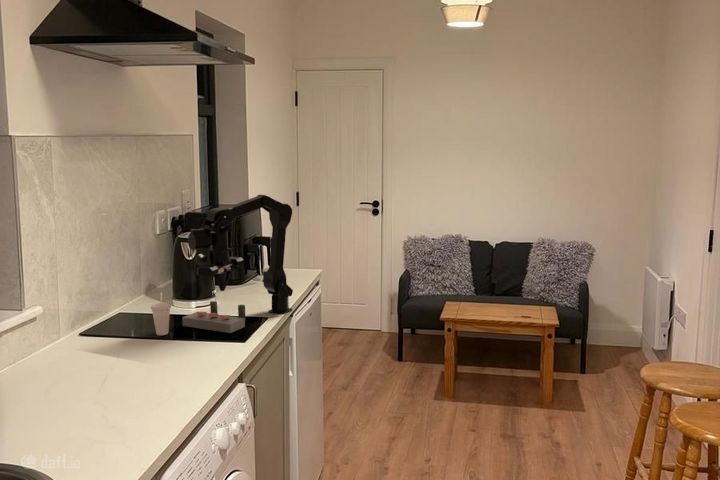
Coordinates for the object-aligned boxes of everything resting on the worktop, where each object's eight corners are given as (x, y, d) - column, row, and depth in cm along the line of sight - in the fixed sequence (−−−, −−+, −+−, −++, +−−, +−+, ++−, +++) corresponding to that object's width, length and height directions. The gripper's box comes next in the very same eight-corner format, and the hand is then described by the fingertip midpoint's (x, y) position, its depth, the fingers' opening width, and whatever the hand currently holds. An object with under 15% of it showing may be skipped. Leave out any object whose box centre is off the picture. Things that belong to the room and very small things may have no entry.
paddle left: (201, 314, 245) (202, 311, 245) (206, 314, 244) (206, 312, 244) (196, 314, 243) (196, 311, 243) (201, 315, 242) (201, 312, 242)
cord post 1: (213, 317, 253) (213, 300, 252) (219, 318, 252) (218, 301, 251) (209, 318, 251) (208, 302, 250) (214, 319, 250) (214, 303, 249)
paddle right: (225, 317, 241) (225, 314, 241) (230, 318, 240) (230, 315, 240) (220, 318, 238) (220, 315, 238) (225, 318, 237) (225, 315, 237)
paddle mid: (213, 315, 243) (213, 313, 243) (218, 316, 242) (218, 313, 242) (208, 316, 240) (208, 313, 240) (213, 317, 240) (213, 314, 240)
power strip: (198, 319, 250) (197, 311, 249) (244, 326, 241) (244, 318, 240) (182, 325, 243) (182, 317, 242) (230, 333, 234) (230, 324, 233)
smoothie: (160, 337, 229) (158, 295, 227) (148, 334, 233) (145, 292, 231) (176, 332, 234) (174, 291, 232) (164, 329, 238) (161, 288, 236)
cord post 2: (241, 321, 248) (240, 304, 247) (247, 322, 247) (246, 305, 246) (237, 322, 246) (236, 306, 245) (242, 323, 245) (242, 306, 244)
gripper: (217, 239, 252) (220, 282, 255) (182, 249, 236) (185, 295, 239) (243, 241, 248) (245, 285, 250) (209, 251, 231) (212, 298, 234)
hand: (222, 290), depth 243 cm, fingers closed
